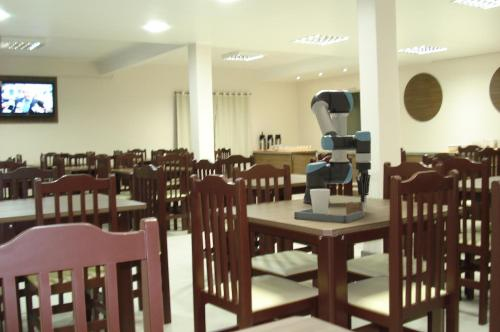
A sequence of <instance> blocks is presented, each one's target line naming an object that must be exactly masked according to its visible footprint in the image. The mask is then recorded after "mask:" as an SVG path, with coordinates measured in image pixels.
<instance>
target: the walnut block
mask: <svg viewBox="0 0 500 332" xmlns="http://www.w3.org/2000/svg"><path fill="white" fill-rule="evenodd" d="M345 207H346V208H345V210H346V211H345V213H346V214H345V215H348V214H351V213H354V212H358V211H363V212H364V209H363V202H361V201H348V202H346V205H345Z"/></svg>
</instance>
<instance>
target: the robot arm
mask: <svg viewBox="0 0 500 332" xmlns="http://www.w3.org/2000/svg"><path fill="white" fill-rule="evenodd" d="M353 108H354V98H353V95H352V93H351V91H350V90H348V89H347V90H345V89H331V90H330V89H329V90H328V89H324V90H323V89H322V90H320V91H318V92H317V93H316V94H315V95H314V96H313V97H312V99H311V101H310V109H311V112H312V114H314V116H315V117H316V121H317V124H318V126H319V130H320V132H321V134H322V135H321V136H322V137H321V139H320V146H321V148H322V150H323V151H331V158H330V159H329V162H328V163H327V162H326V161H317V162H311V163H308V164H307V165H306V166H305V180H306V181H305V186H306V187H305V192H304V195H303V203H304V204H311V205H312V201H311V195H310V190H311V189H327V185H334V184H335V185H336V184H338V185H339V184H341V185H343V184H348V183H350V182H351V180H352V178H353V172H354V168H353V167H354V166H353V164H352V163H351V162H350V160H349V159H348V157H347V156H348V154H347V153H348V151H349V150H350V151H353V150H354V151H355V156H354V158H355V161H356V162H355V170H357V171H358V173H357V174H358V175H356V176H355V179H356V185H357V193H358V196H360V197H359V198H360V202H363V210H364V209H365V210H366V209H367V208H368V206H367V205H368V204H367V202H368V196H369V192H370V181H371V174H369V170H372V162H371V161H372V151H371V150H372V136H371V135H372V134H371V131H369V130H367V131H366V130H364V131H363V130H362V131H359V130H358V131H355V134H354V135H353V134H352V135H350V134H349V135H347V134H348V129H347V128H348V116H349V115H350V113H351V111H352V110H354V109H353ZM330 200H331V199H330V198H329V203H330Z"/></svg>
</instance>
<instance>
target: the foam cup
mask: <svg viewBox="0 0 500 332" xmlns="http://www.w3.org/2000/svg"><path fill="white" fill-rule="evenodd" d="M310 195H311V201H312V204H311V205H312V206H311V208H313V213H318V214H329V213H328V212H329V204H330V202H329V199H330V196H331V189H329V188H326V189H311V190H310Z"/></svg>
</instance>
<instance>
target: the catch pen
mask: <svg viewBox="0 0 500 332" xmlns="http://www.w3.org/2000/svg"><path fill="white" fill-rule="evenodd" d="M293 215H294V216H293V217H294V219H297V220H298V219H299V220H309V221H320V222H321V221H323V222H334V223H344V224H346V223H349V222H352V221H355V220H359V219H362V218H364V210H363V211H358V212H354V213H351V214H348V215H346V214H345V215H343V214H342V215H341V214H329V213H327V214H318V213H313V208H312V207H310V208H305V209H301V210H298V211H294V214H293Z"/></svg>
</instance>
